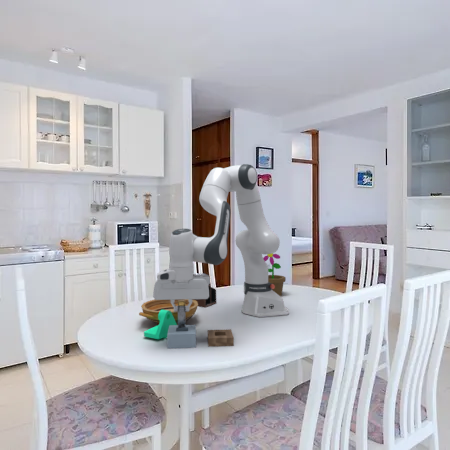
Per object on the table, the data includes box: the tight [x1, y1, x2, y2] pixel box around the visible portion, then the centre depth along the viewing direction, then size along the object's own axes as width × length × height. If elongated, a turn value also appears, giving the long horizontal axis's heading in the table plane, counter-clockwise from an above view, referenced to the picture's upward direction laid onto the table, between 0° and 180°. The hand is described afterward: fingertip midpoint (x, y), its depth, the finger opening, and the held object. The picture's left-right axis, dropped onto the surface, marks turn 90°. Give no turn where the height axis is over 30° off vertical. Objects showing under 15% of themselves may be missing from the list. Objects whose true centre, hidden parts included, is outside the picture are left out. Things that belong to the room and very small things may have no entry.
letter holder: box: [192, 284, 217, 309], centre depth 192 cm, size 10×20×14 cm, turn 56°
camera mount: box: [143, 310, 177, 340], centre depth 143 cm, size 12×8×10 cm, turn 153°
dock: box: [166, 324, 197, 349], centre depth 135 cm, size 10×10×5 cm
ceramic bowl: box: [138, 298, 199, 325], centre depth 159 cm, size 30×24×8 cm
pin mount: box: [207, 328, 235, 347], centre depth 136 cm, size 9×9×3 cm
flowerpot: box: [263, 253, 286, 297], centre depth 209 cm, size 14×14×30 cm
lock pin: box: [178, 300, 186, 328], centre depth 134 cm, size 3×3×10 cm
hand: (181, 311), depth 134 cm, fingers closed on lock pin, 3 cm apart
